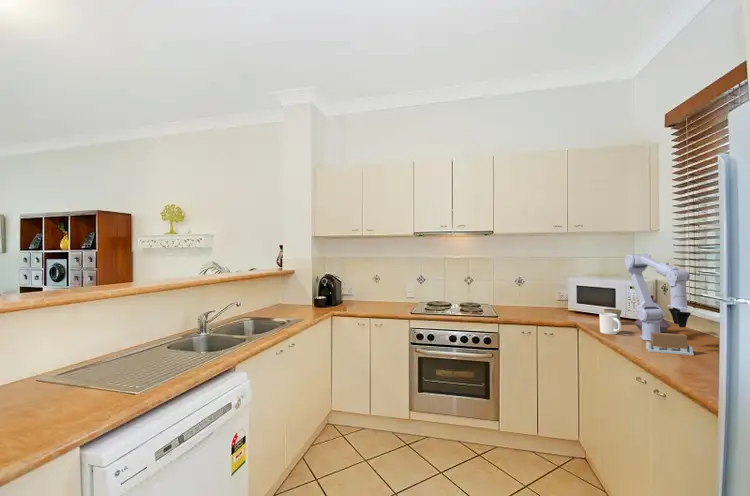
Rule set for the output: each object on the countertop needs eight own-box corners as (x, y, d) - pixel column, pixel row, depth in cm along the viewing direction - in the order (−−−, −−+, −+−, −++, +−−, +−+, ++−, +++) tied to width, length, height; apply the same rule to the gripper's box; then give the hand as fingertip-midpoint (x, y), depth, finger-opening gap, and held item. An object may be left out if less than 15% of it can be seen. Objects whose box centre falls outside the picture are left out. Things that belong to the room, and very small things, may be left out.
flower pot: (601, 322, 224) (600, 308, 225) (618, 322, 223) (617, 308, 223) (608, 325, 215) (607, 311, 215) (625, 325, 213) (624, 311, 213)
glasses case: (651, 344, 163) (650, 332, 163) (684, 346, 157) (684, 334, 157) (652, 346, 160) (652, 334, 160) (687, 348, 154) (686, 336, 154)
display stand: (646, 347, 165) (645, 341, 165) (688, 351, 158) (688, 344, 158) (649, 351, 159) (649, 344, 159) (693, 355, 152) (693, 347, 152)
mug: (627, 335, 189) (626, 316, 189) (614, 336, 188) (613, 317, 188) (609, 331, 201) (608, 312, 201) (596, 331, 199) (595, 313, 200)
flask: (667, 330, 199) (666, 294, 199) (675, 336, 184) (673, 297, 185) (631, 327, 207) (630, 293, 207) (636, 333, 192) (634, 296, 193)
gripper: (663, 293, 171) (664, 322, 171) (671, 297, 159) (673, 328, 158) (682, 294, 168) (683, 323, 168) (692, 298, 155) (693, 329, 155)
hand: (679, 325), depth 163 cm, fingers open, 7 cm apart
